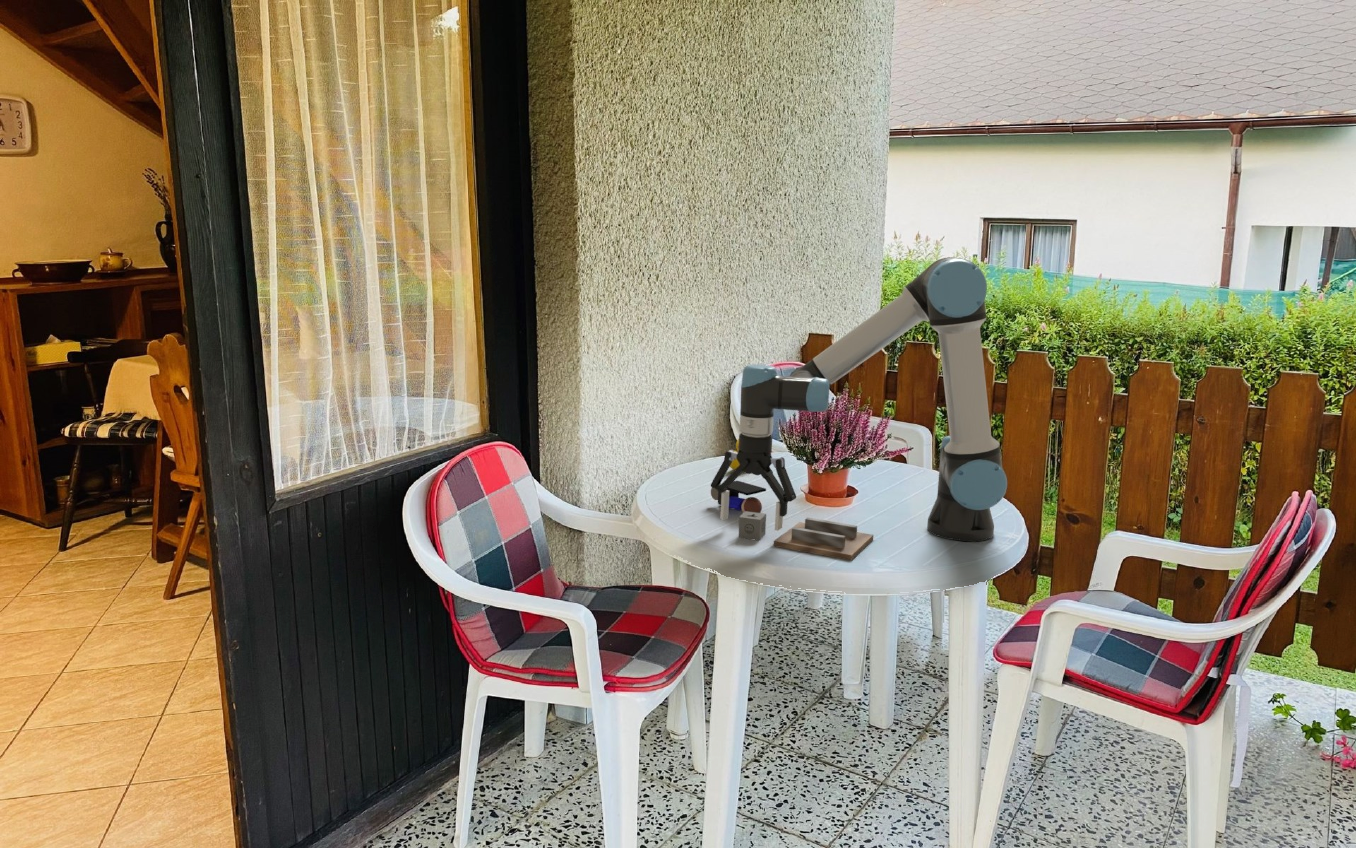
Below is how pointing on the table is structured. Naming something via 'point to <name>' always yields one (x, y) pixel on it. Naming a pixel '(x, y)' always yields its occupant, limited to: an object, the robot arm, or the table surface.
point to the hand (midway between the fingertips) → (750, 523)
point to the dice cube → (752, 525)
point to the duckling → (735, 462)
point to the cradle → (825, 539)
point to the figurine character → (740, 503)
